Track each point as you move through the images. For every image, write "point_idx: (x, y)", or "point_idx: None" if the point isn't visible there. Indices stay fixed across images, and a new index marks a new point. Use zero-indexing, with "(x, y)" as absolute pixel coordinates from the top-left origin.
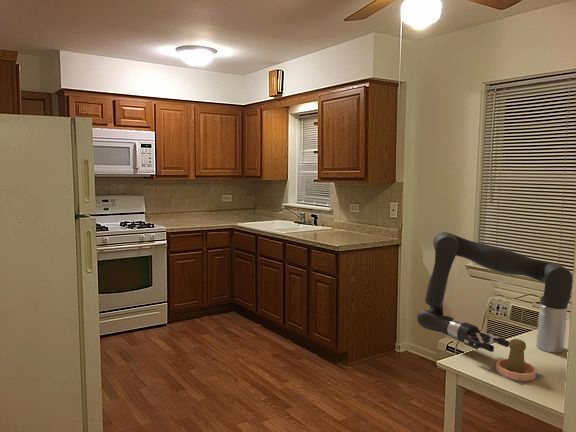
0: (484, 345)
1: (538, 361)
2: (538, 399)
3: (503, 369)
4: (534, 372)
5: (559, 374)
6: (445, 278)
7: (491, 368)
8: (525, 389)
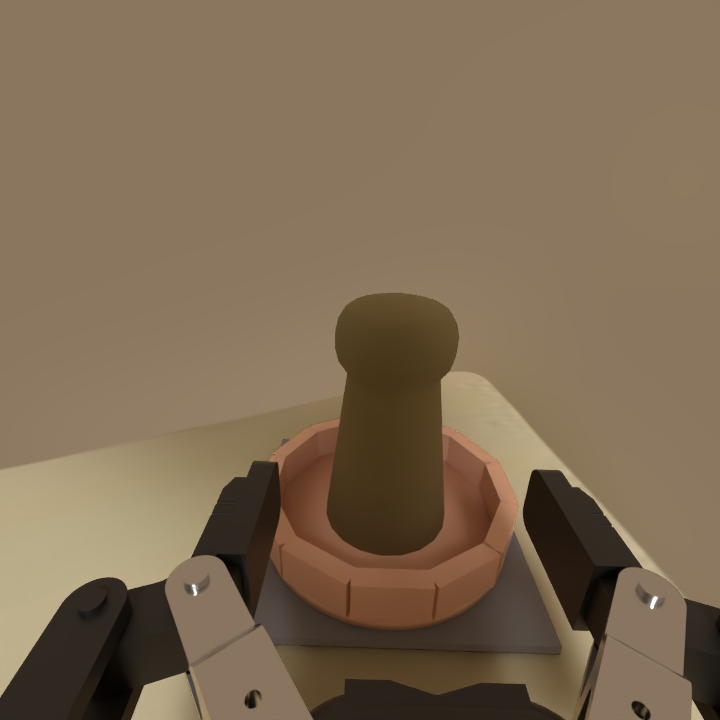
0: (627, 552)
1: (39, 541)
2: (490, 398)
3: (511, 490)
4: None
5: (191, 432)
6: None
7: (503, 640)
8: (479, 436)
